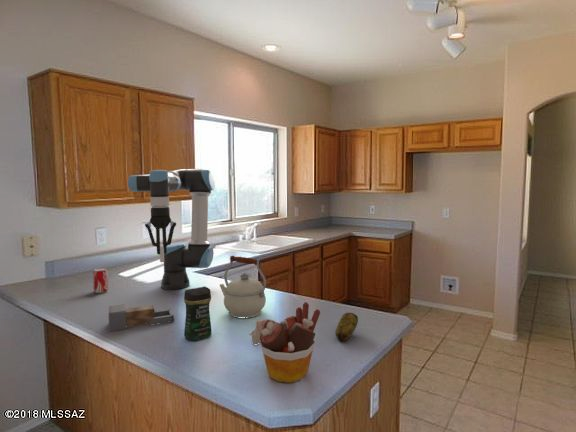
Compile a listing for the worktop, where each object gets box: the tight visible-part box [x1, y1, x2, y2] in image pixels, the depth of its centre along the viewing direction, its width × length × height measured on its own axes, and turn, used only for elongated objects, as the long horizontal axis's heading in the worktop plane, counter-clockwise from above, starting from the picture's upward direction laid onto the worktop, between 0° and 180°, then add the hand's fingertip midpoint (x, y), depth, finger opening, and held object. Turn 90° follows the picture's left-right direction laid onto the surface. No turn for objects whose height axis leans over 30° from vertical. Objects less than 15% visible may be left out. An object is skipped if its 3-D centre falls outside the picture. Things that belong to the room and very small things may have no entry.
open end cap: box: [149, 308, 175, 325], centre depth 157 cm, size 9×9×2 cm
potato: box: [335, 312, 359, 342], centre depth 140 cm, size 8×13×8 cm, turn 135°
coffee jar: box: [183, 285, 213, 342], centre depth 139 cm, size 10×8×19 cm
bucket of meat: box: [255, 301, 321, 384], centre depth 112 cm, size 20×16×20 cm
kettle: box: [219, 255, 267, 319], centre depth 165 cm, size 25×18×25 cm
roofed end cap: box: [108, 303, 127, 332], centre depth 150 cm, size 6×9×7 cm
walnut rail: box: [125, 304, 155, 327], centre depth 153 cm, size 14×4×6 cm, turn 115°
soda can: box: [92, 267, 109, 294], centre depth 196 cm, size 7×7×12 cm
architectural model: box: [248, 325, 261, 345], centre depth 136 cm, size 3×7×7 cm, turn 145°
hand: (162, 261), depth 161 cm, fingers closed
